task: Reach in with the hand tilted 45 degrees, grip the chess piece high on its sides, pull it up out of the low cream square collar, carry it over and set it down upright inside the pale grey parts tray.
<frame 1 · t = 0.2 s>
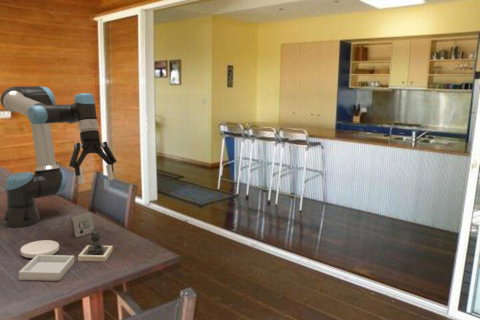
hand: (96, 181, 169), 28 cm above the table, tool tilted 15°, fingers open, 13 cm apart
socket collar: (96, 255, 165), on the table
parts tray: (48, 271, 150), on the table
electrical switch: (82, 234, 186), on the table
plastic lid: (40, 253, 166), on the table
chess piece: (96, 256, 165), resting in socket collar
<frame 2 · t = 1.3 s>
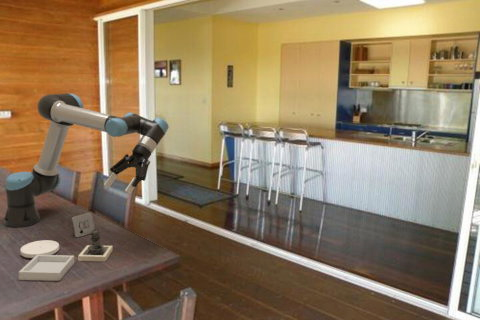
hand: (116, 189, 168), 25 cm above the table, tool tilted 45°, fingers open, 13 cm apart
nothing on the table moved.
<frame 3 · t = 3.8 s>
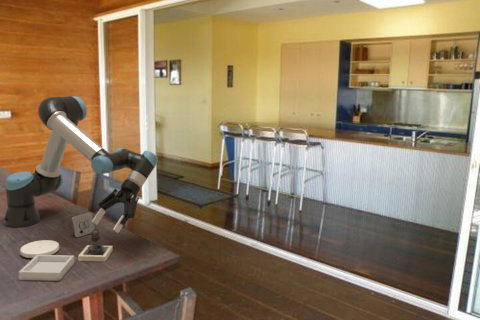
hand: (104, 227, 165), 11 cm above the table, tool tilted 45°, fingers open, 13 cm apart
nothing on the table moved.
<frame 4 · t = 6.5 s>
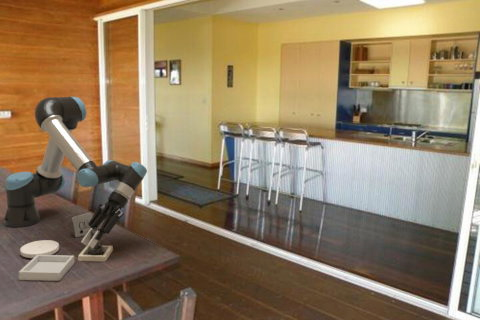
hand: (87, 245, 160), 6 cm above the table, tool tilted 45°, fingers closed on chess piece, 4 cm apart
chess piece: (96, 255, 165), resting in socket collar, touching gripper
everything else where it was.
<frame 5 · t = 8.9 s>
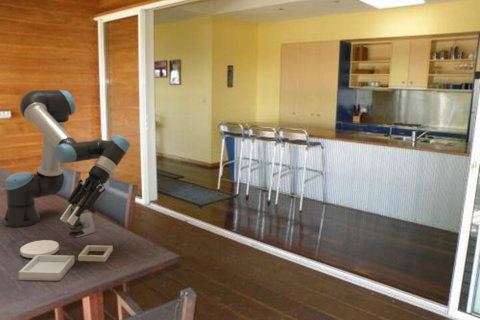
hand: (66, 222, 151), 18 cm above the table, tool tilted 45°, fingers closed on chess piece, 4 cm apart
chess piece: (76, 233, 155), point 12 cm above the table, touching gripper
everything else where it was.
when the fingers open (8 cm above the table, at t = 11.6 s): chess piece drops 1 cm, resting on parts tray.
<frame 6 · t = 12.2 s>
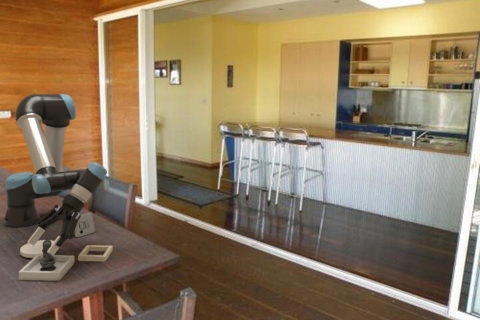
hand: (40, 248, 146), 10 cm above the table, tool tilted 45°, fingers open, 12 cm apart
chess piece: (48, 269, 150), point 1 cm above the table, touching parts tray
everything else where it was.
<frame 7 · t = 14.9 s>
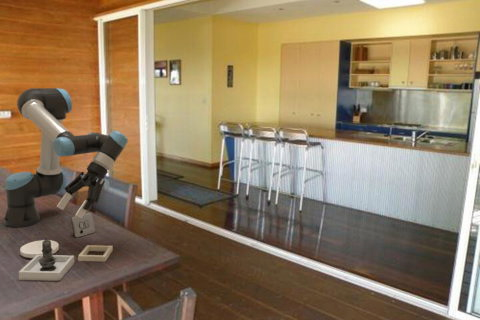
hand: (68, 212, 155), 20 cm above the table, tool tilted 40°, fingers open, 13 cm apart
nothing on the table moved.
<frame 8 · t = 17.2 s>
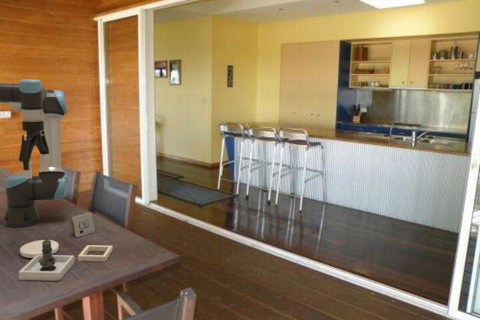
hand: (36, 173, 162), 32 cm above the table, tool pointing down, fingers open, 13 cm apart
nothing on the table moved.
at the end: chess piece inside the target area on the parts tray (0.1 cm from its centre), point 0.6 cm above the parts tray's base; chess piece tilted 0°; the gripper is holding nothing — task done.
